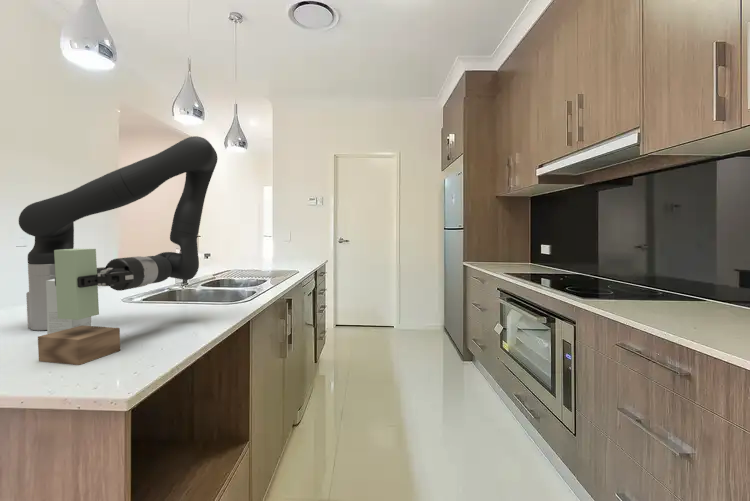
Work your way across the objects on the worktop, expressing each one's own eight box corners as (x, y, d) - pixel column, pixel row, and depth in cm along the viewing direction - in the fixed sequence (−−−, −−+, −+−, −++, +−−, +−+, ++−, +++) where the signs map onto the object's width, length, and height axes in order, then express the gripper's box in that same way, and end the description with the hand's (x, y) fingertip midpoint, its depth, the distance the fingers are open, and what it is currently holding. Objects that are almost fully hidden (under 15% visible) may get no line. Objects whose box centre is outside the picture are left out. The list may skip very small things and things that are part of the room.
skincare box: (68, 333, 108) (66, 275, 107) (93, 333, 109) (91, 275, 108) (46, 342, 100) (43, 279, 99) (73, 342, 100) (71, 279, 100)
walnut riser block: (38, 361, 86) (37, 336, 86) (82, 347, 96) (81, 325, 96) (79, 364, 84) (78, 339, 84) (120, 350, 94) (119, 328, 94)
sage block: (57, 318, 87) (54, 250, 87) (79, 313, 92) (76, 248, 91) (77, 319, 86) (74, 250, 85) (98, 314, 91) (95, 248, 90)
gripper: (106, 256, 105) (38, 263, 88) (157, 257, 101) (95, 264, 85) (108, 287, 105) (40, 299, 89) (158, 288, 102) (97, 301, 85)
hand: (67, 282), depth 87 cm, fingers closed on sage block, 5 cm apart
